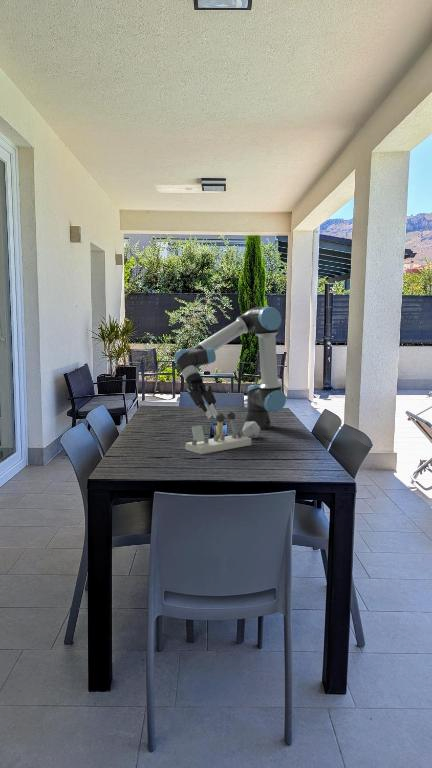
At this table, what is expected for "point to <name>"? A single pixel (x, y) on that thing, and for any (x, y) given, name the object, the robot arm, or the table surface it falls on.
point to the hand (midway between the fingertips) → (213, 416)
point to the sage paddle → (198, 433)
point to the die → (251, 429)
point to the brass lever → (220, 425)
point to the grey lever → (232, 422)
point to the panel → (218, 443)
